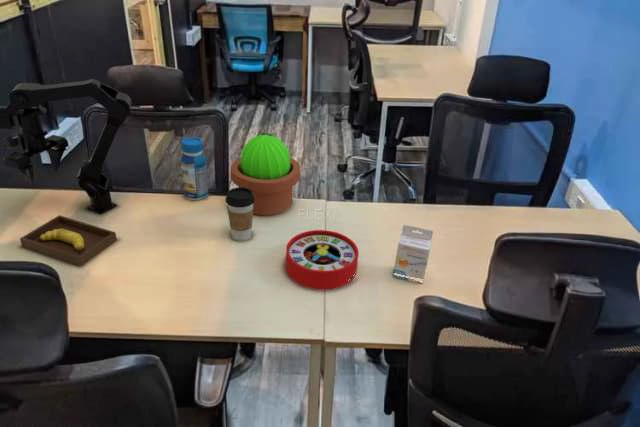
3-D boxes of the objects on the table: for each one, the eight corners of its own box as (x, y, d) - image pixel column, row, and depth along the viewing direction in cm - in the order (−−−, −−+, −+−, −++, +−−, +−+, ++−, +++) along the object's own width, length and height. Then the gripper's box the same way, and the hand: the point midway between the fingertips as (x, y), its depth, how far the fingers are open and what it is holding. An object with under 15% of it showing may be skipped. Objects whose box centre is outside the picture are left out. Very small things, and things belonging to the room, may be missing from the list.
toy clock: (312, 222, 152) (371, 245, 143) (311, 238, 155) (369, 262, 146) (271, 254, 137) (334, 282, 128) (271, 271, 140) (332, 300, 131)
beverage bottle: (210, 200, 171) (206, 145, 161) (184, 202, 169) (178, 146, 159) (208, 188, 178) (204, 134, 168) (183, 189, 176) (178, 136, 166)
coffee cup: (222, 238, 152) (219, 195, 144) (236, 225, 159) (234, 182, 151) (246, 246, 150) (245, 202, 142) (260, 231, 156) (259, 189, 149)
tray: (117, 240, 149) (115, 232, 147) (80, 266, 137) (78, 258, 136) (61, 222, 155) (59, 214, 153) (22, 246, 144) (19, 238, 142)
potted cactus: (275, 227, 159) (276, 154, 146) (219, 207, 167) (215, 136, 154) (309, 198, 176) (313, 130, 163) (257, 181, 184) (256, 116, 171)
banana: (94, 245, 145) (92, 235, 143) (80, 255, 141) (77, 245, 139) (53, 231, 150) (51, 222, 148) (38, 241, 145) (35, 231, 143)
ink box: (392, 277, 140) (399, 233, 133) (395, 267, 145) (402, 223, 137) (422, 284, 138) (431, 240, 131) (425, 274, 143) (434, 230, 135)
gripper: (35, 113, 156) (46, 160, 164) (-19, 134, 141) (-3, 184, 149) (64, 120, 153) (74, 166, 161) (13, 142, 138) (27, 192, 146)
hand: (43, 177), depth 154 cm, fingers open, 9 cm apart
